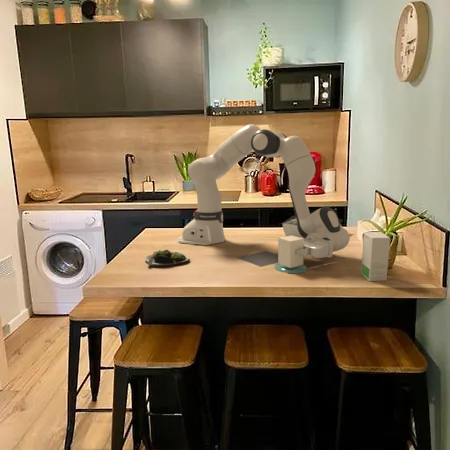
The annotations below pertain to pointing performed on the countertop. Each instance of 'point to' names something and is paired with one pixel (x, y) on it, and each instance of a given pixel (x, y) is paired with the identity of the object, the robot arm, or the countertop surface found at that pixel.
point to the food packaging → (293, 227)
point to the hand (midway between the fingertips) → (289, 250)
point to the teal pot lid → (291, 269)
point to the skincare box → (375, 256)
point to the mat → (261, 258)
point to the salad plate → (166, 259)
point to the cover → (290, 251)
